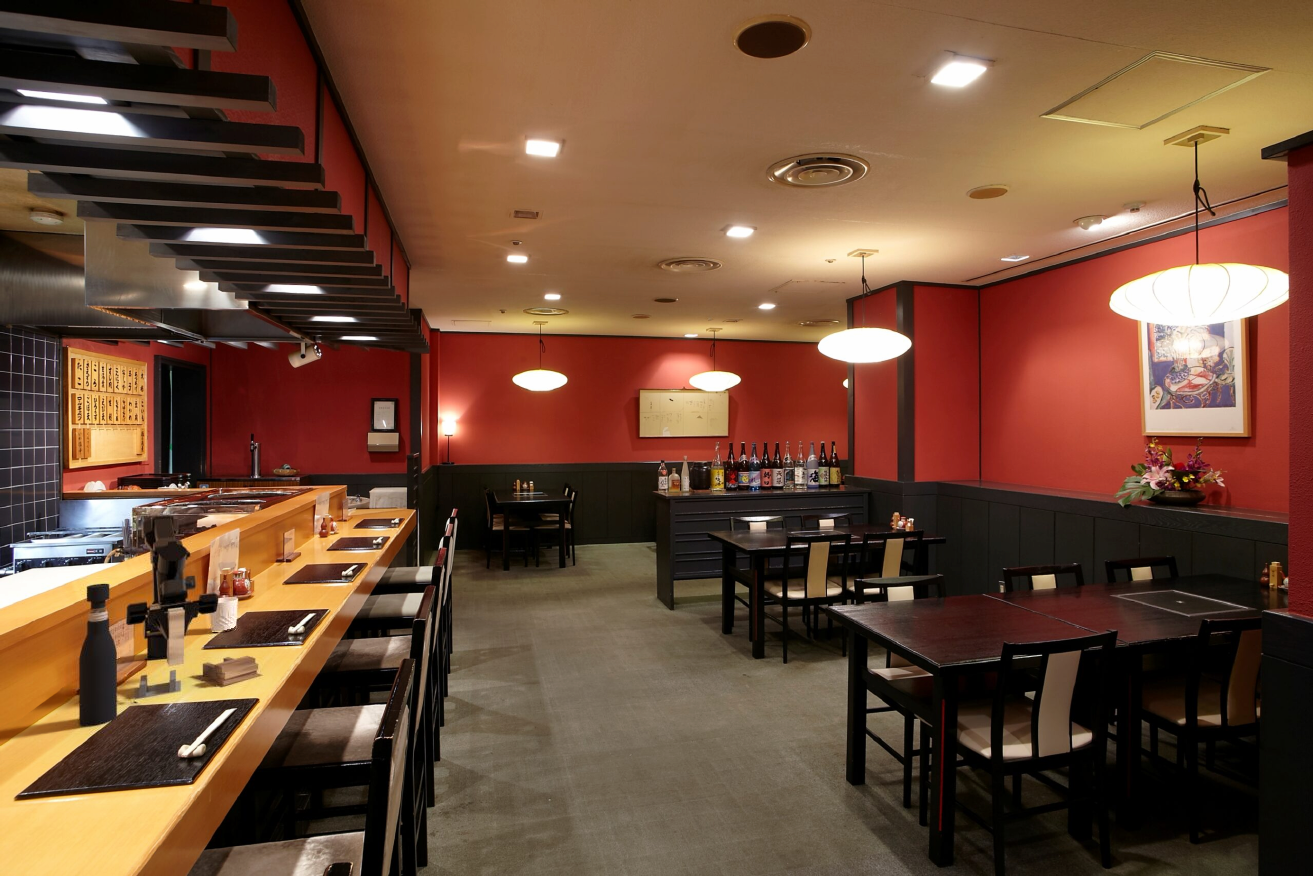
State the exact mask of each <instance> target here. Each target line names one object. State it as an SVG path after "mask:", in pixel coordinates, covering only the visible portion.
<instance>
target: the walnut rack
mask: <svg viewBox="0 0 1313 876" xmlns="http://www.w3.org/2000/svg"><path fill="white" fill-rule="evenodd" d="M233 659H234V658H232V657H230V656H227V657H223V662H225V661H229V660H233ZM216 676H217V671H214V663H211V662H204V663H202V675H199V676H195V677H194V679H197V680H200V681H203V682H205V683H208V684H210V685H214V686H216V687H219V688H224V687H228V686H232V685H234V684H238V683H241V682H246V681H249V680H251V679H255V678H258V677H262V676H263V674H261V673H258V672H257V676H254V677H250V678H247V679H243V680H240V681H237V682H233V683H230V684H226V685H221V684H219V683H216Z"/></svg>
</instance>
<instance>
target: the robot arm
mask: <svg viewBox="0 0 1313 876" xmlns="http://www.w3.org/2000/svg"><path fill="white" fill-rule="evenodd" d="M178 533H179V520H178V519H176V518H174V516H173V515H170V514H163V515H154V516H151V518H150V519H148V520H146V521H144V522H142V525H141V538H142V539H144V544H145V546H146V547H147V549H148V550H149V551H150V554H149V555H150V556H149V560H150V564H151V565H152V566H151V567H152V599H153V600H152V603H151V604H149V605H148V602H147V601H140V602H133V603H129V604H127V606H126V613H125V622H126V624H125V625H128V626H133V625H141V624H143V626H142V627H143V628H142V629H143V631H142V632H143V633H142V635H143V638H144V639H145V640H146V639H147V640H146V645H147V646H146V647H147V648H146V649H147V650H146V653H147V656H146V657H145V658H144V660H145V659H147V660H146V661H149V660H159V659H160V660H161V659H167V639H169V632H168V609H174V608H183V610H184V611H185V613H184V637H186V635H187V631H188V629H189V626H190V625H191V622H192V621H193V619H196V618H198V614H201V615H208V614H209V615H210V613H214V612H216V610H217V605H218V598H219V595H218V594H217V593H216V592H210V593H201V594H199V595H198V600H187V599H188V598H189V592H188V591H190V590H195V589H196V584H197V583H196V576H195V575H186V576H184V575H185V573H184V570H185V568H186V567H185V566H186V561H187V560H188V558H190V557H191V552H190V551H189V550H188V549H187V547H185V546H184V545H183V541H181V540H180V539H177V538H176V536H178V535H179V534H178Z"/></svg>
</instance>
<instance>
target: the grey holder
mask: <svg viewBox="0 0 1313 876" xmlns="http://www.w3.org/2000/svg"><path fill="white" fill-rule="evenodd" d="M139 680H140V681H139V685H138V686H139V687H136V688H135V692H134V698H133V704H134V703H135V704H138V702H137V701H135V700H139V699H145V698H151V697H152V698H153V697H157V696H161V695H168V694H173V693H179V692H181V690H182V689H181V688H182V687H181V686H182V685H181V683H182V681H181V680H177V670H176V669H173V670H169V682H164V683H158V684H157V683H156V684H152V685H148V674H144V675H140V679H139Z"/></svg>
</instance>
